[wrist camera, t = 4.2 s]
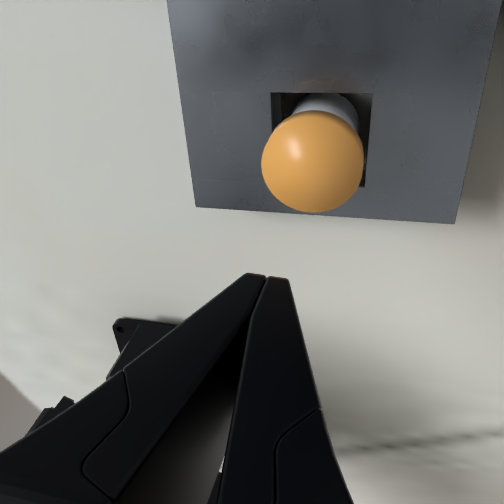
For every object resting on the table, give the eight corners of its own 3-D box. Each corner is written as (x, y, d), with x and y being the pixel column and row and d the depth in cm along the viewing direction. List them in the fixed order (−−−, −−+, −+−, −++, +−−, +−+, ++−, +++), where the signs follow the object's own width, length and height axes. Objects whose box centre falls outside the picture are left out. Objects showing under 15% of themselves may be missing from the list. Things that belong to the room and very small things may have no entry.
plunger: (363, 166, 19) (358, 215, 16) (283, 163, 19) (263, 209, 16) (370, 83, 17) (366, 119, 14) (281, 82, 18) (258, 117, 15)
